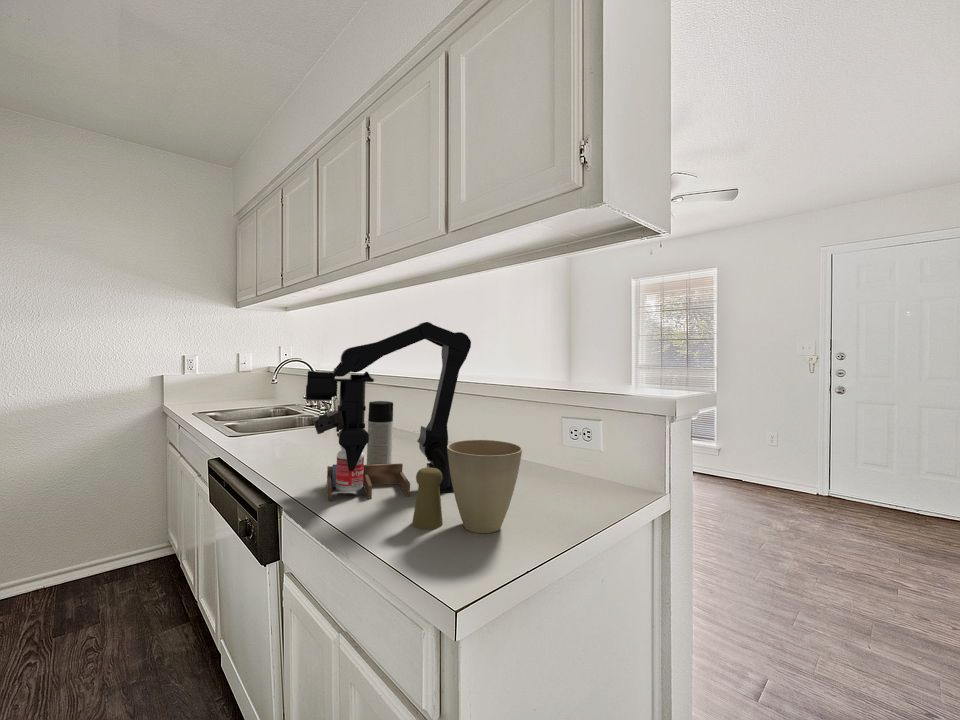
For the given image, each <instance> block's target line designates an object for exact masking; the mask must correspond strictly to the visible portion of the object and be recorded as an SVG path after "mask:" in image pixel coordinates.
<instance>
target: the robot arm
mask: <svg viewBox="0 0 960 720" xmlns="http://www.w3.org/2000/svg"><path fill="white" fill-rule="evenodd" d="M423 340H427V341H428V342H430V343H432V344H434V345H436V346H439V347H441V363H442V364H441V365H442V366H441V371H440V375H439V380H438V385H437V390H436V393H435V399H434V401H433V402H434V403H433V408H432V411H431V416H430V420H429V422H428V423H427V425H426V427H425V426H422V425H420V429H419V430H420V431H419V432H420V433H419V437H418V439H417V440H416V442H417V443H418V447H419V450H420V452H421V454H423V455H424V457H425V458H426V460H427V461H428V462H427V463H426V468H436V469H439V470H440V471H441V473H442V482H441V484H440V485H439V489H440V493H448V492H450V493H451V492H453V493H454V491H453V486H452V481H451V475H450V469H449V461H448V452H447V446H448V445H449V433H448V422H449V418H450V412H451V409H452V404H453V400H454V395H455V391H456V386H457V382H458V378H459V373H460V370H461V368H462V366H463V365H464V363H465V361H466V359H467V357H468V354H469V352H470V350H471V347H472V340H471V338H470V337H469V336H468V335H467V334H466V333H465V332H460V331H457V332H454V331H451V330H449V329H445V328H443V327H440V326H437V325H435V324H433V323H432V322H430V321H424V322H421V323H419V324H418V325H416V326H413V327H411V328H408V329H406V330H403V331H400V332H398V333H396V334H393V335H391V336H388V337H386V338H384V339H381V340H378V341H375V342H372V343H367V344H361V345H356V346H352V347H348V348H346V349H345V350H343V351H342V353H341V355H340V362H339V363H338V364H337V365H336V367H334V368H333V370H332V371H316V370H315V371H314V370H308V371H307V382H306V385H305V401H306V402H312V401H313V402H328V401H329V402H332V400H333V399H332V398H335V397H338V382H340V383H339V403H338V405H337V410H335V411H332V412H331V411H330V412H329V413H325V412H324V414H322V415H321V414H320V415H318V416H317V417H315V418H313V419H312V422H313V424H314V428H315V431H316V433H317V435H321V434H323V433H325V432H327V431H329V430H332V429H334V428H335V430H336V436H337V437H338V445H339V446H342V447H343V448H344V449H345V451H346V457H347V463H348V469H349V471H354V469H355V467H356V465H357V462H358V460H359V458H360V456H361V454H362V452H363V453H364V449H365V447H366V446H367V443H369V434H368V430H366V422H365V411H366V409H367V408H366V383H374V381H375V378H373V377H372V376H371V375H370V373H369V372H368V371H364V369H366V368H368V367H369V366H371V365H372V364H374V363H375V362H376V361H378V360H380V359H381V358H383V357H384V356H387V355H389V354H392V353H395V352H397V351H399V350H402V349H404V348H406V347H409V346H411V345H414V344H416V343H418V342H421V341H423ZM361 371H364V373H363V374H355V373H359V372H361ZM349 373H351V374H350V376H349V378H340V377H345V376H347V375H348V374H349ZM352 373H353V374H352ZM336 377H338V378H336Z"/></svg>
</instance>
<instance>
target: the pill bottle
mask: <svg viewBox="0 0 960 720" xmlns="http://www.w3.org/2000/svg"><path fill="white" fill-rule="evenodd" d="M339 446H340V445H339ZM340 449H341V450H339V451H338V452H337V453H336V454H337V455H336V464H337V467H336V488H335V489H336V490H337V491H338V492H346V493H351V492H352V493H353V492H357V491H360V490H362V489H363V487H364V485H363V470H364V465H365V453H364V451H363V452H362V454H361V456H360V458H359V460H358V462H357V465H356V467H355V469H354V471H349V469H348V463H347V457H346V451H345V449H344V448H343V447H342V446H340Z"/></svg>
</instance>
